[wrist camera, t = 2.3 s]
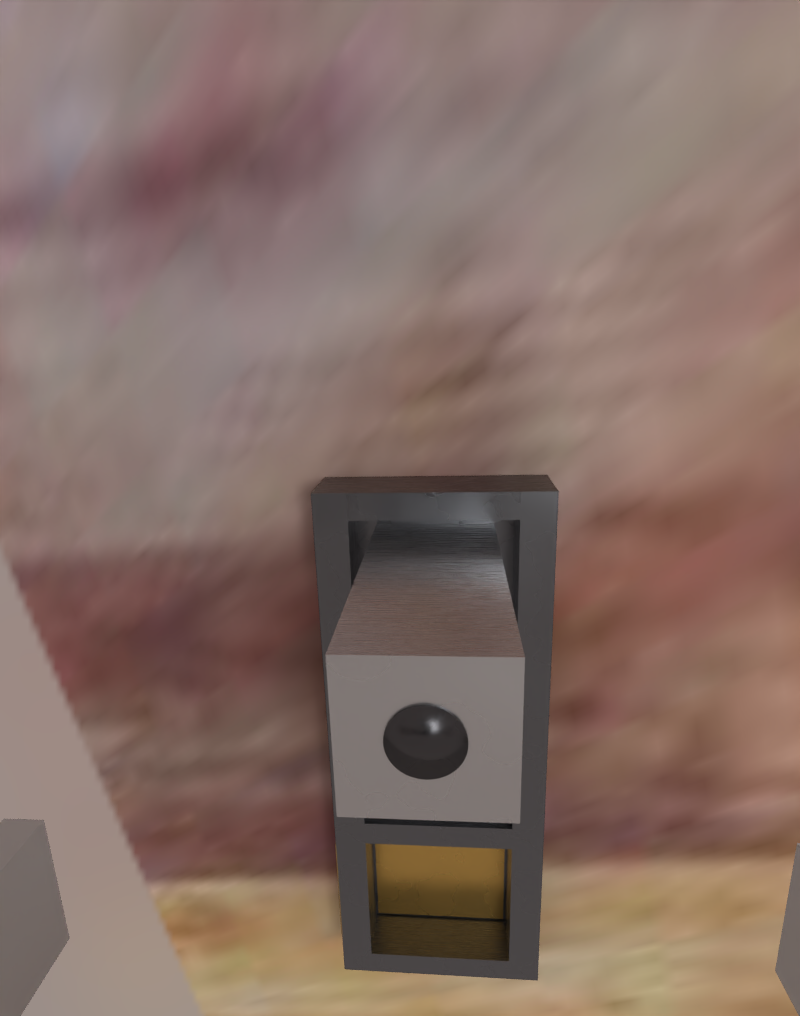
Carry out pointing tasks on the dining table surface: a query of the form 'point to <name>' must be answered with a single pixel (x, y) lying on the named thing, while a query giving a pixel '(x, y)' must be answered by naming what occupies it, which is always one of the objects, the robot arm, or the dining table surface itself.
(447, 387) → the dining table surface
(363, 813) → the grey block with knob
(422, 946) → the grey compartment tray
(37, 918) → the robot arm
